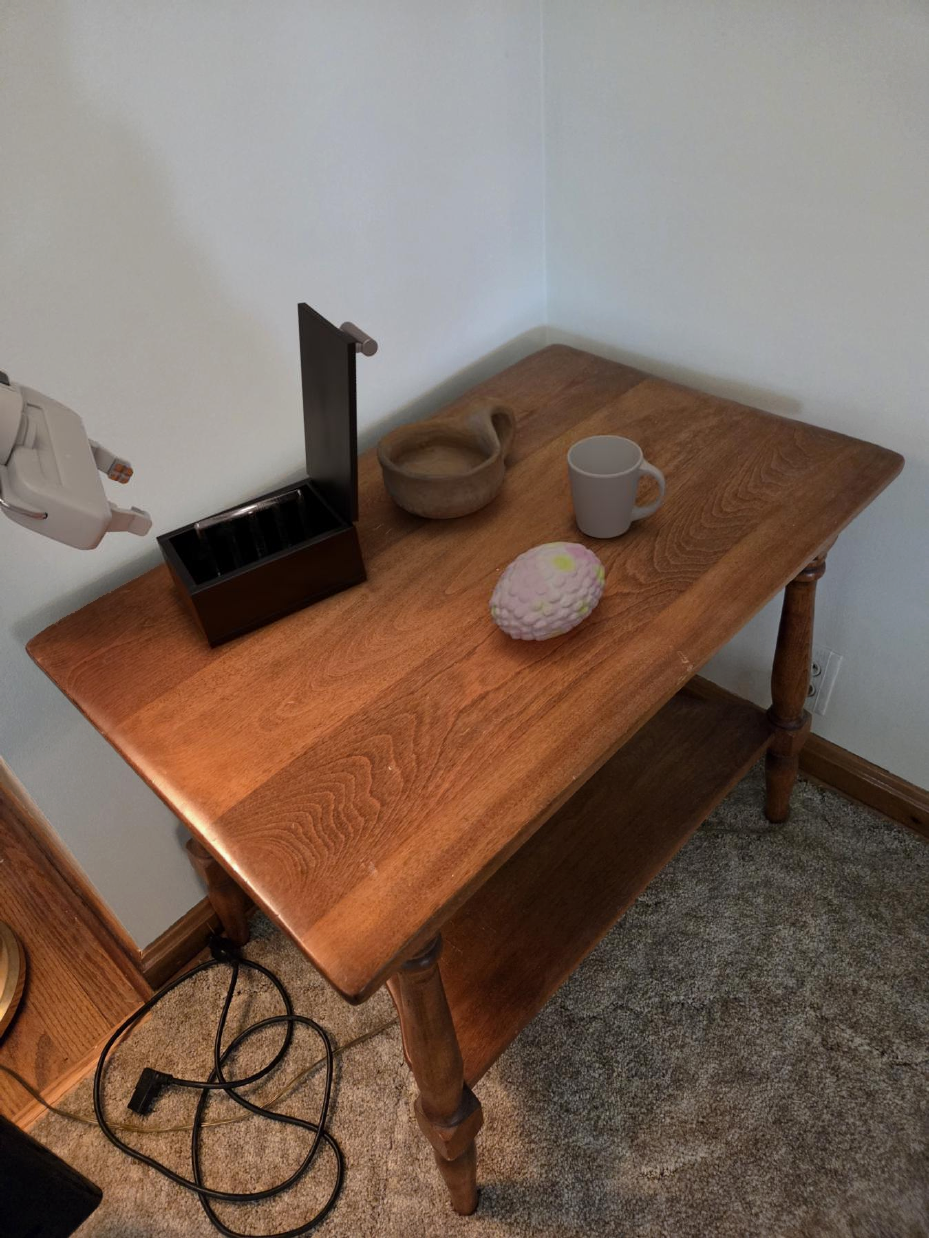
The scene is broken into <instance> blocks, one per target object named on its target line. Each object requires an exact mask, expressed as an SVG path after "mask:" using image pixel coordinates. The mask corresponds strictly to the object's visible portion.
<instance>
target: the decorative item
mask: <svg viewBox="0 0 929 1238" xmlns="http://www.w3.org/2000/svg"><path fill="white" fill-rule="evenodd" d="M605 579H606V569H605V567H604V565H603V564H602V562H601V560H600V559H599V557H597V556H596V554H595V552H594V551H592V550H591V549H589V548H588V549H587V547H586V546H585V545H584V544H583V545H582V544H581V543H579V542H578V543H573V542H571V541H570V542H566V541H555V542H548V543H543V544H540V545H538V546H535V547H532V548H530V549H528V550H527V551H526V552H524V553H523V552H522V553H521V554H519V555H517V557H516V558H515V560H514V561H512V562H511V563H509V564H508V565H507V566H506V567H505V570H504V572H503V573H502V574H501V576H500V577H499V579H498V582H497V583H496V585H495V587H494V588H493V592H492V595H491V597H490V599H489V601H488V608H490V610H489V612H490V616H491V618H492V624H495V625H498V628H499V630H500V631H503V632H504V633H505V634H507V635H510V637H511V638H512V639H513V640H520V639H521V640H523V641H534V640H535V641H538V642H540V641H546V640H549V639H552V638H556V637H559V636H560V635H563V634H566V633H568V632H570V631H571V630H573V628H575V627H577V626H579V624H580V623H582V622H583V620H584V619H586V618H588V617H589V616H590V615H591V614H592V611H593V610H594V609H595V608H596V607H597V606H598V604H599V602H600V598H601V597H602V595H603V592H604V590H605V588H606V580H605Z"/></svg>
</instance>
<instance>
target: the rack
mask: <svg viewBox="0 0 929 1238" xmlns="http://www.w3.org/2000/svg"><path fill="white" fill-rule="evenodd" d="M295 499H296V502H297V506H298V509H299V513H300V517H301V521H302V525H303V528H304V532H305V536H306V540H308V539H310V538H313V537H314V535H313V531H312V527H311V523H310V519H309V516H308V512H307V508H306V504H305V500H304V496H303V492H302V491H301V490H295V491H292V492H289V493H286V494H283V495H280V496H277V497H274V498H271V499H268V500H265V501H262V502H259V503H256V504H253V505H250V506H247V507H244V508H240V509H237V510H234V511H231V512H228V513H225V514H222V515H219V516H216V517H213V518H210V519H207V520H204V521H201V522H198V523H196V524H195V526H194V527H195V530H196V533H197V536H198V538H199V541H200V544H201V547H202V549H203V552H204V555H205V558H206V560H207V563H208V566H209V568H210V571H211V574H212V577H213V579H214V578H217V577H219V576H221V575H220V572H219V569H218V566H217V563H216V560H215V558H214V555H213V552H212V549H211V546H210V544H209V541H208V538H207V535H206V532H205V530H204V529H207V528H210V527H213V526H216V525H219V524H222V526H223V529H224V532H225V535H226V538H227V541H228V544H229V547H230V550H231V553H232V556H233V559H234V562H235V564H236V567H237V569H238V568H241V567H243V566H244V563H243V560H242V557H241V554H240V551H239V547H238V544H237V541H236V538H235V535H234V532H233V529H232V526H231V523H230V521H231V520H234V519H237V518H240V517H243V516H246V518H247V521H248V524H249V528H250V531H251V534H252V537H253V540H254V544H255V547H256V550H257V553H258V556H259V559H262V558H265V557H267V556H269V554H268V551H267V548H266V545H265V541H264V538H263V535H262V531H261V528H260V525H259V522H258V518H257V515H256V512H258V511H261V510H264V509H267V508H270V507H272V511H273V514H274V518H275V521H276V525H277V528H278V532H279V535H280V539H281V542H282V546H283V549H286V548H289V547H291V544H290V541H289V537H288V534H287V530H286V527H285V523H284V519H283V516H282V512H281V509H280V505H279V504H282V503H285V502H288V501H292V500H295Z"/></svg>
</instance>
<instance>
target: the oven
mask: <svg viewBox="0 0 929 1238" xmlns="http://www.w3.org/2000/svg"><path fill="white" fill-rule="evenodd" d="M295 490H301V491H302V492H303V496H304V500H305V504H306V508H307V512H308V516H309V519H310V523H311V527H312V531H313V535H314V537H313V538H310V539H308V540H306V536H305V532H304V528H303V525H302V521H301V517H300V513H299V509H298V506H297V502H296V499H295V500H292V501H288V502H285V503H282V504H279V505H280V509H281V512H282V516H283V519H284V523H285V527H286V530H287V534H288V537H289V541H290V544H291V547H289V548H286V549H283V546H282V542H281V539H280V535H279V532H278V528H277V525H276V521H275V518H274V514H273V511H272V507H270V508H267V509H264V510H261V511H258V512H256V515H257V518H258V522H259V525H260V528H261V531H262V535H263V538H264V541H265V545H266V548H267V551H268V554H269V556H267V557H265V558H262V559H259V556H258V553H257V550H256V547H255V544H254V540H253V537H252V534H251V531H250V528H249V524H248V521H247V518H246V516H243V517H240V518H237V519H234V520H231V521H230V523H231V526H232V529H233V532H234V535H235V538H236V541H237V544H238V547H239V551H240V554H241V557H242V560H243V563H244V566H243V567H241V568H238V569H237V567H236V564H235V562H234V559H233V556H232V553H231V550H230V547H229V544H228V541H227V538H226V535H225V532H224V529H223V526H222V524H219V525H216V526H213V527H210V528H207V529H204V530H205V532H206V535H207V538H208V541H209V544H210V546H211V549H212V552H213V555H214V558H215V560H216V563H217V566H218V569H219V572H220V575H221V576H219V577H217V578H214V579H213V577H212V574H211V571H210V568H209V566H208V563H207V560H206V558H205V555H204V552H203V549H202V547H201V544H200V541H199V538H198V536H197V533H196V530H195V527H194V526H195V524H196V523H198V522H201V521H204V520H207V519H210V518H213V517H216V516H219V515H222V514H225V513H228V512H231V511H234V510H237V509H240V508H244V507H247V506H250V505H253V504H256V503H259V502H262V501H265V500H268V499H271V498H274V497H277V496H280V495H283V494H286V493H289V492H292V491H295ZM155 540H156V542H157V545H158V547H159V549H160V552H161V553H162V558H163V559H164V561H165V564H166V567H167V569H168V572H169V574H170V576H171V579H172V582H173V584H174V586H175V589H176V592H177V593H178V594H179V596H180V598H181V599H182V601H183V604H184V605H185V607H186V609H187V611H188V612H189V614H190V615H191V617H192V618H193V620H194V622H195V624H196V625H197V627H198V629H199V631H200V632H201V634H202V636H203V638H204V639H205V641H206V643H207V645H208V647H209V648H210V649H211V650H213V649H215V648H218V647H220V646H222V645H224V644H227V643H230V642H231V641H234V640H236V639H238V638H240V637H242V636H245V635H247V634H249V633H252V632H254V631H257V630H259V629H261V628H263V627H266V626H267V625H270V624H272V623H274V622H276V621H279V620H281V619H283V618H285V617H287V616H290V615H292V614H295V613H297V612H299V611H301V610H304V609H306V608H308V607H310V606H313V605H315V604H317V603H319V602H322V601H324V600H326V599H328V598H331V597H333V596H336V595H338V594H340V593H342V592H345V591H346V590H349V589H351V588H353V587H355V586H358V585H360V584H362V583H365V582H367V581H368V576H367V573H366V567H365V562H364V559H363V553H362V549H361V544H360V539H359V535H358V529H357V526H356V525H355V523H354V522H352V523H351V522H350V520H349V519H348V518H347V517H346V516H345V515H344V514H343V513H342V512H341V511H340V509H339V508H338V507H337V506H336V505H335V504H334V503H333V502H332V501H331V500H330V498H329V497H328V496H327V495H326V494H325V493H324V492H323V491H322V490H321V489H320V487H319V486H318V485H317V484H316V483H315V482H314V481H313V480H312V479H311V478H310V476H308V477H305V478H303V479H301V480H297V481H296V482H293V483H291V484H287V485H286V486H283V487H281V488H277V489H276V490H273V491H270V492H268V493H266V494H262V495H260V496H257V497H256V498H253V499H250V500H247V501H244V502H242V503H240V504H237V505H235V506H232V507H229V508H227V509H224V510H222V511H219V512H217V513H214V514H212V515H209V516H206V517H204V518H201V519H199V520H196V521H194V522H191V523H187V524H186V525H183V526H181V527H178V528H176V529H173V530H171V531H167V532H166V533H163V534H160V535H158V536H156V537H155Z"/></svg>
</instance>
